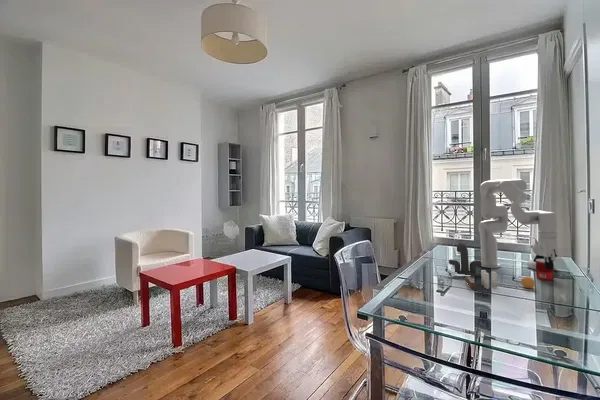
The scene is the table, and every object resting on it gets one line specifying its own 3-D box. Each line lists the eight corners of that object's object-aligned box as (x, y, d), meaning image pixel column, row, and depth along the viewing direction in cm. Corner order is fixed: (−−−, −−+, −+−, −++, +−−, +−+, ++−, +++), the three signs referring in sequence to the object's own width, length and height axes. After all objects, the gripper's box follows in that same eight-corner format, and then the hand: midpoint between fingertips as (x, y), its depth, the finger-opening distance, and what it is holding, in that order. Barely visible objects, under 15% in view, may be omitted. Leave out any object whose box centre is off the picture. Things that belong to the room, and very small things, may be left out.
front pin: (491, 286, 166) (490, 271, 166) (496, 286, 166) (495, 271, 165) (492, 287, 164) (492, 272, 164) (497, 287, 163) (497, 272, 163)
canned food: (557, 280, 167) (556, 261, 167) (541, 280, 169) (540, 262, 168) (548, 276, 175) (548, 258, 174) (533, 276, 177) (532, 258, 176)
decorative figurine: (542, 264, 198) (541, 235, 197) (562, 270, 183) (562, 239, 182) (521, 266, 197) (520, 236, 196) (539, 272, 182) (539, 241, 181)
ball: (519, 285, 164) (518, 275, 164) (532, 286, 162) (531, 275, 162) (524, 289, 158) (523, 278, 158) (537, 290, 156) (537, 279, 156)
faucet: (475, 269, 197) (474, 240, 196) (483, 277, 182) (482, 245, 181) (445, 269, 202) (444, 240, 201) (451, 276, 186) (449, 245, 185)
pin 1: (481, 284, 170) (480, 269, 170) (485, 284, 169) (485, 269, 169) (482, 285, 168) (481, 271, 167) (487, 285, 167) (486, 271, 167)
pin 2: (483, 287, 165) (483, 272, 165) (488, 287, 164) (488, 272, 164) (485, 288, 163) (484, 273, 162) (490, 288, 162) (489, 273, 162)
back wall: (465, 282, 174) (465, 275, 174) (469, 282, 174) (469, 276, 173) (471, 289, 163) (471, 282, 163) (475, 289, 162) (475, 282, 162)
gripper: (532, 233, 164) (534, 265, 164) (546, 237, 150) (548, 273, 150) (548, 232, 162) (550, 265, 162) (564, 237, 147) (566, 273, 148)
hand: (549, 269), depth 156 cm, fingers closed
